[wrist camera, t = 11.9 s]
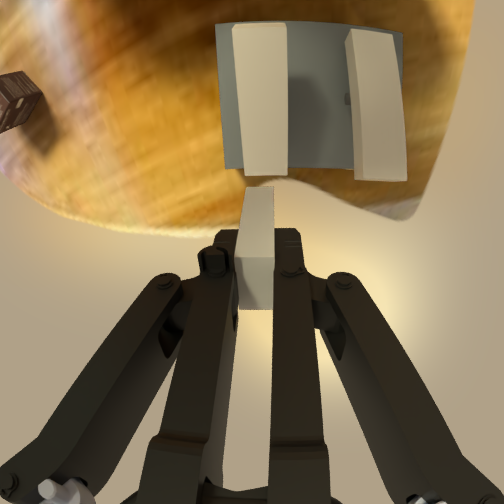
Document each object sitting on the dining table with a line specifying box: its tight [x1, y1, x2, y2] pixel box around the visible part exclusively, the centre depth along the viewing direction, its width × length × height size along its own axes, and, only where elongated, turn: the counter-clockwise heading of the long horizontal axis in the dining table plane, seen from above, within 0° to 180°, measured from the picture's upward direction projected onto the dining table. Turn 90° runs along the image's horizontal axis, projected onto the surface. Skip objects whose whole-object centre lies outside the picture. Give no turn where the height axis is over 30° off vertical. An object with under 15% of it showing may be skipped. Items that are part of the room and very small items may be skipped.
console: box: [215, 21, 403, 170], centre depth 29 cm, size 19×16×7 cm
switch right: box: [345, 29, 407, 182], centre depth 24 cm, size 4×14×3 cm, turn 2°
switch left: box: [232, 23, 288, 176], centre depth 25 cm, size 4×14×3 cm, turn 3°
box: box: [0, 71, 42, 134], centre depth 28 cm, size 6×6×7 cm
